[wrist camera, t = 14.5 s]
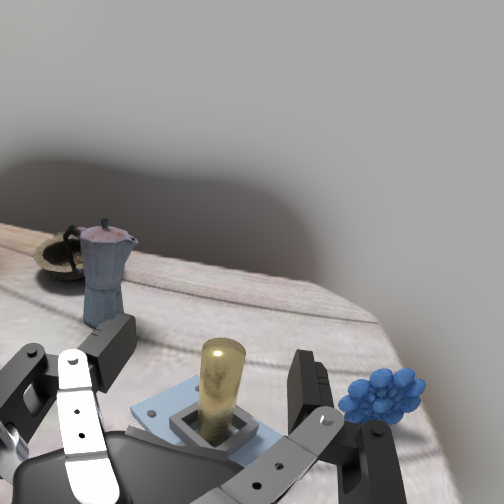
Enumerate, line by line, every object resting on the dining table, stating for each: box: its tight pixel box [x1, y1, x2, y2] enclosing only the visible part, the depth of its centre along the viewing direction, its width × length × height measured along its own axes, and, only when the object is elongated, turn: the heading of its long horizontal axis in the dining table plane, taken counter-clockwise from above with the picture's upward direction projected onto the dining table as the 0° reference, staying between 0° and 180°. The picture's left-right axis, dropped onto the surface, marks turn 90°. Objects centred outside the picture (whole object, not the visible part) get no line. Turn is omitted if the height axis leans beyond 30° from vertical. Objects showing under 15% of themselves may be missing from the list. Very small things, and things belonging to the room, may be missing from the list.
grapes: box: [338, 368, 426, 425], centre depth 32 cm, size 12×7×12 cm, turn 70°
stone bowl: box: [32, 230, 85, 281], centre depth 63 cm, size 25×25×9 cm
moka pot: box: [63, 218, 138, 328], centre depth 46 cm, size 10×15×20 cm, turn 102°
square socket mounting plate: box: [130, 375, 283, 468], centre depth 29 cm, size 19×12×4 cm, turn 51°
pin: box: [197, 338, 246, 446], centre depth 27 cm, size 4×4×14 cm
